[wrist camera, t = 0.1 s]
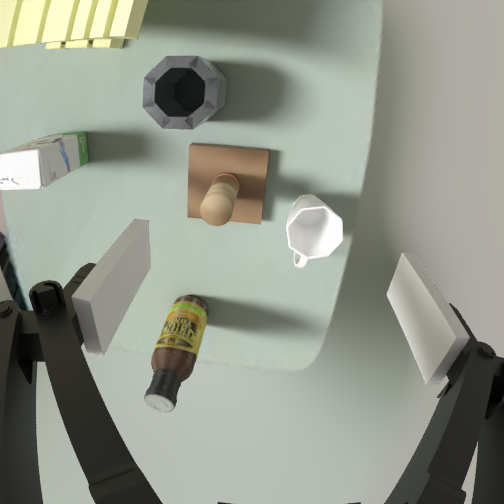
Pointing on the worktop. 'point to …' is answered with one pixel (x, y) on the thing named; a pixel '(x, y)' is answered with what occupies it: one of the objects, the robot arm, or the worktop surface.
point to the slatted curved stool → (70, 22)
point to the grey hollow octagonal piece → (163, 89)
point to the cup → (312, 229)
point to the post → (226, 183)
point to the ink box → (42, 161)
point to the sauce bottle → (176, 352)
